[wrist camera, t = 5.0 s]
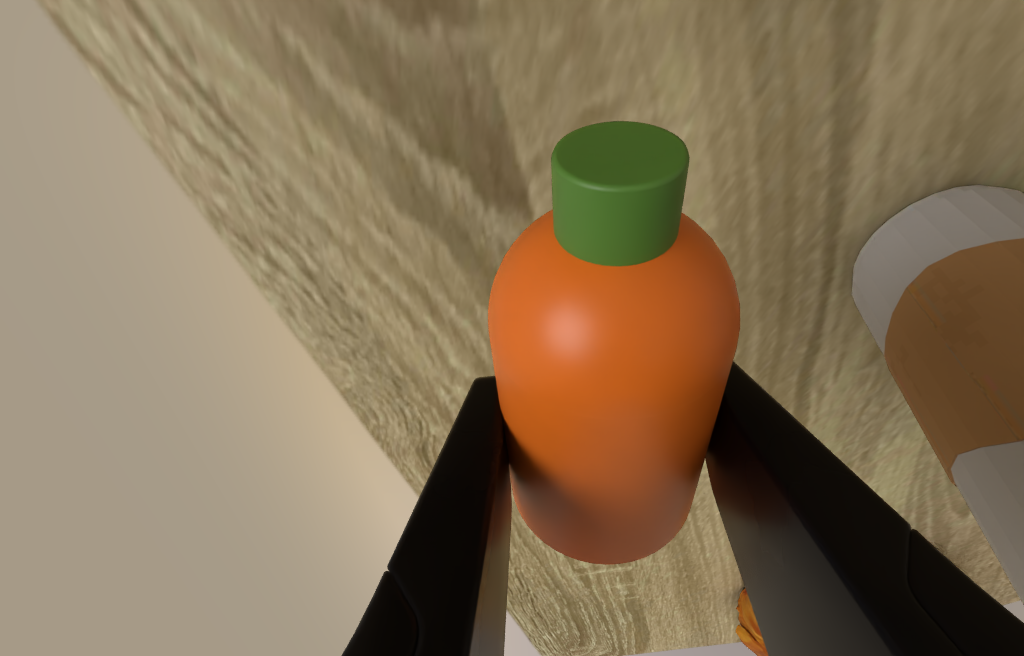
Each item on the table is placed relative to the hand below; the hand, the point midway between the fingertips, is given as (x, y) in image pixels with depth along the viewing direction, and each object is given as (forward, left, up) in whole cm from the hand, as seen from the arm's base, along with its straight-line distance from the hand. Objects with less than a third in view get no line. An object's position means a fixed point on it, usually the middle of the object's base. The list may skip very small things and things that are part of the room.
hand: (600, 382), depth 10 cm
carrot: (0, +1, -1) cm, 1 cm away
